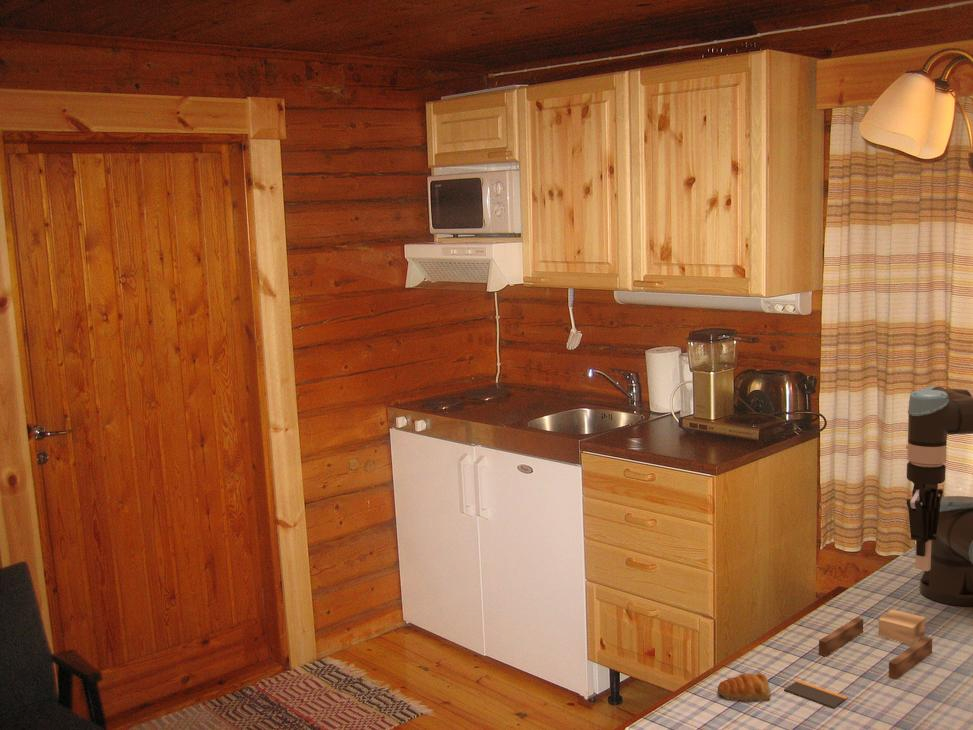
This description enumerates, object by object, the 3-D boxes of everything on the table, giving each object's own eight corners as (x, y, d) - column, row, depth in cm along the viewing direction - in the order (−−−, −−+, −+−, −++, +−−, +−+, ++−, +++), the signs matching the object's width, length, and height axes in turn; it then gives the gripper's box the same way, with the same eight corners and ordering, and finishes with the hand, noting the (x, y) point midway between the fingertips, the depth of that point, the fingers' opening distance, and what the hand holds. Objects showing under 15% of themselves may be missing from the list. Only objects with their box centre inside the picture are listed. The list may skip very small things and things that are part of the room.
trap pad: (797, 681, 186) (797, 680, 186) (847, 698, 179) (847, 697, 179) (784, 690, 183) (784, 689, 183) (833, 708, 175) (833, 706, 175)
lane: (856, 630, 208) (856, 617, 208) (931, 652, 196) (932, 638, 196) (818, 654, 197) (818, 640, 197) (896, 679, 186) (896, 664, 185)
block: (891, 626, 210) (892, 609, 209) (924, 635, 205) (925, 617, 204) (878, 637, 205) (878, 619, 204) (912, 646, 200) (912, 628, 199)
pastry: (723, 705, 179) (723, 685, 178) (713, 688, 185) (713, 669, 185) (773, 701, 179) (773, 682, 179) (761, 685, 186) (761, 666, 185)
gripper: (921, 454, 214) (918, 557, 217) (895, 465, 205) (891, 572, 208) (956, 459, 208) (952, 565, 211) (931, 471, 199) (927, 581, 203)
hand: (922, 568), depth 210 cm, fingers closed
